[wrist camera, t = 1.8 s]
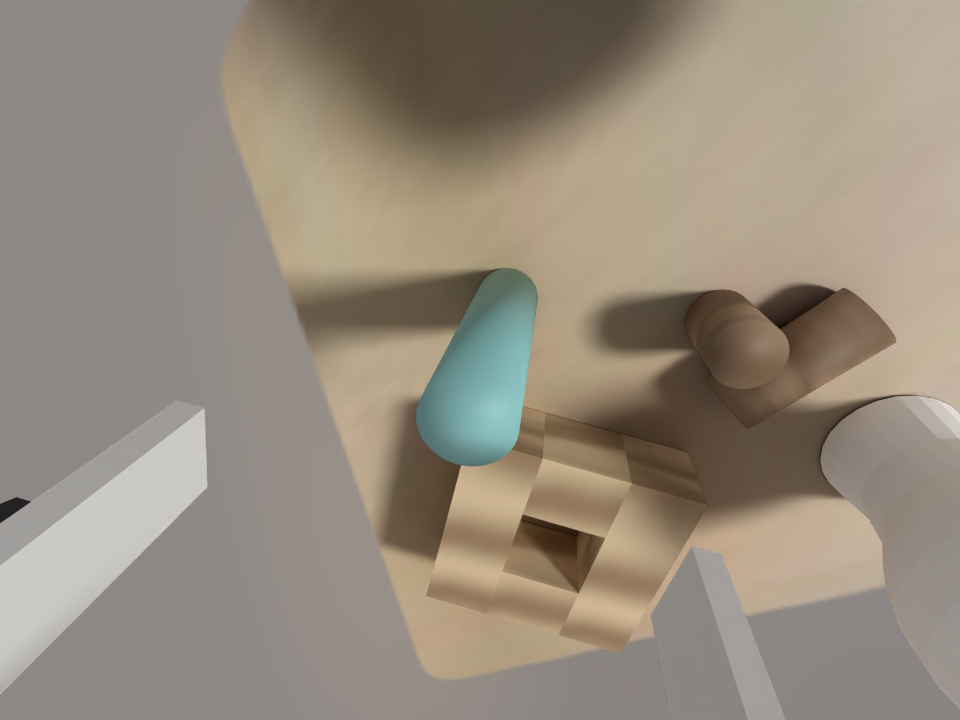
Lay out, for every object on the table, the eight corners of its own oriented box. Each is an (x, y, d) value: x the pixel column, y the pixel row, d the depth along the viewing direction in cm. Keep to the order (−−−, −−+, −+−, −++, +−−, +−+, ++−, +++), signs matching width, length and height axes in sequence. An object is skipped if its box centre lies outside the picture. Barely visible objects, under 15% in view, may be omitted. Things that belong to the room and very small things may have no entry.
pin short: (700, 282, 27) (728, 312, 23) (764, 299, 27) (804, 332, 22) (674, 339, 29) (695, 377, 24) (734, 355, 28) (766, 397, 24)
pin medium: (729, 398, 30) (858, 318, 27) (757, 439, 27) (906, 354, 24) (698, 366, 29) (831, 277, 26) (725, 406, 26) (879, 311, 23)
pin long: (485, 261, 28) (425, 364, 16) (544, 277, 28) (531, 393, 16) (472, 317, 30) (408, 450, 17) (528, 332, 30) (504, 477, 17)
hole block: (481, 395, 32) (468, 437, 28) (687, 452, 32) (707, 504, 27) (442, 541, 38) (426, 595, 34) (613, 591, 38) (620, 653, 33)
